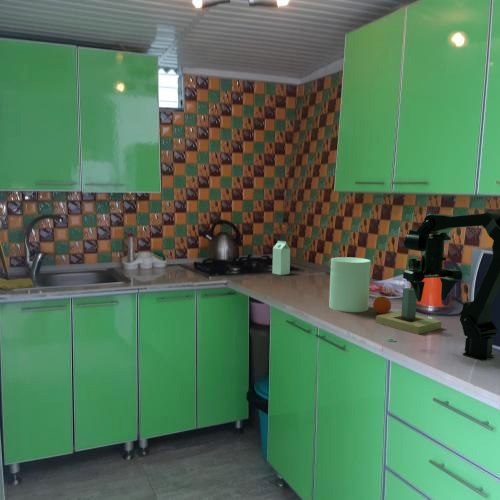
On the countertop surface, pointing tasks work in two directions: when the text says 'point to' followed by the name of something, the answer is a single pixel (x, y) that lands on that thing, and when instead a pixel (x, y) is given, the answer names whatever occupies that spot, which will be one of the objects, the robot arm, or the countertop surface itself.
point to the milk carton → (281, 258)
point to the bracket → (408, 305)
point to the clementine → (382, 305)
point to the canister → (349, 284)
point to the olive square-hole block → (409, 323)
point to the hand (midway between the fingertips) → (431, 301)
